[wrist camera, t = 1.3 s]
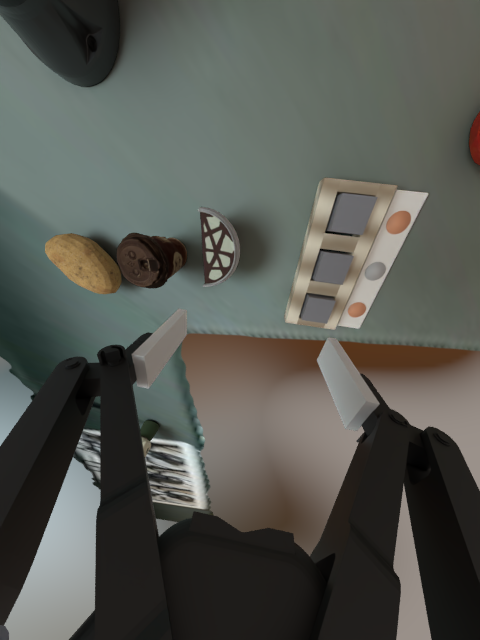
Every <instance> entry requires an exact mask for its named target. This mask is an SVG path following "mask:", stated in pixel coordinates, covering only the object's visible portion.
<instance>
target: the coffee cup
mask: <svg viewBox="0 0 480 640" xmlns="http://www.w3.org/2000/svg"><path fill="white" fill-rule="evenodd" d="M186 260H187V251H186V248H185V246H184V244H182V243H181V242H180V241H179V240H177V239H176V238H168V239H166V238H165V237H159V236H152V237H150V236H147V235H142V234H139V233H130V234H128V235H127V236H126V237H125V238H124V239H123V240H122V242H121V243H120V244H119V246H118V248H117V262H118V264H119V267H120V269H121V272H122V274H123V275H124V277H125V278H126V279H127V280H128V281H130V282H131V283H133V284H135V285H137V286H140V287H146V288H159V287H161V286H163V285H164V284H165V282H167V279H169V278H170V277H171V276H172V275H174V274H175V273H176V272H177V271H178V270H179V269H180V268H181V267H183V266H184V265H185V263H186Z"/></svg>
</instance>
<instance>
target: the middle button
mask: <svg viewBox="0 0 480 640" xmlns="http://www.w3.org/2000/svg"><path fill="white" fill-rule="evenodd" d="M353 257H354V256H353V255H349V254H346V253H338V252H331V251H323V250H319V253H318V256H317V260H316V263H315V266H314V269H313V273H312V276H311V278H312V279H313V280H314V281H318V282H325V283H333V284H340V285H343V282H344V280H345V277H346V275H347V272H348V270H349V267H350V265H351V262H352V260H353Z"/></svg>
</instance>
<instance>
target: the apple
mask: <svg viewBox="0 0 480 640" xmlns="http://www.w3.org/2000/svg"><path fill="white" fill-rule="evenodd" d="M469 147H470V152H471V156H472V158H473V160H474V162H475V163H477V164H478V165H480V112H479V113H478V115H477V117H476V118H475V120H474V122H473V125H472V127H471V130H470V139H469Z"/></svg>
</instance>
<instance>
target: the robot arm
mask: <svg viewBox="0 0 480 640" xmlns="http://www.w3.org/2000/svg"><path fill="white" fill-rule="evenodd" d="M0 15H1V16H2V17H3V18H4V20H5V21H6V22H7V23H8V24H9V25H10V26H11V27H12V29H13V30H14V31H15V32H16V33H17V34H18V35H19V36H20V38H21V39H22V40H23V42H24V43H25V44H26V45H27V47H28V48H29V49H30V50H31V51H32V52H33V54H34V55H35V56H36V57H37V58H38V59H39V60H41V61H42V62H43V63H44V64H45V65H46V66H47V67H49V68H50V69H51V70H53V71H54V72H55V73H57V74H58V75H59V76H61V77H62V78H64V79H65V80H67V81H68V82H70V83H73V84H75V85H79V86H92V85H95V84H97V83H99V82H101V81H102V80H103V79H104V78H105V77H106V76H107V75H108V73H109V72H110V70H111V68H112V66H113V64H114V61H115V58H116V55H117V50H118V44H119V34H120V20H119V8H118V1H117V0H0ZM186 335H187V310H183V309H178V310H177V311H176V312H175V313H174V314H173V315H172V316H171V317H170V318H169V319H168V320H167V321H166V322H164V323H163V324H162V325H161V326H160V327H159V328H158V329H157V330H156V331H155V332H154V333H146V334H143V335H141V336H140V337H139V338H138V339H137V340H136V341H135V342H133V344H131V345H130V346H129V347H128V348H127V349H126V350H125V348H124V347H123V346H121V345H110V346H107V347H105V348H103V349H101V350H100V351H99V352H98V354H97V356H98V359H99V362H100V363H88V362H87V360H86V358H84V357H73V358H69V359H66V360H64V361H62V362H61V363H59V364H58V365H57V366H56V368H55V369H54V371H53V372H52V374H51V375H50V376H49V378H48V379H47V381H46V382H45V384H44V385H43V386H42V388H41V389H40V391H39V392H38V393H37V395H36V396H35V398H34V399H33V401H32V402H31V404H30V405H29V406H28V408H27V409H26V411H25V412H24V413H23V415H22V416H21V418H20V419H19V421H18V422H17V423H16V425H15V426H14V428H13V429H12V431H11V432H10V433H9V435H8V436H7V438H6V439H5V440H4V442H3V443H2V445H1V446H0V640H9V632H8V630H7V629H6V627H5V626H4V624H5V622H6V620H7V618H8V616H9V614H10V612H11V610H12V608H13V606H14V604H15V602H16V600H17V598H18V596H19V594H20V592H21V589H22V587H23V585H24V583H25V580H26V578H27V575H28V573H29V571H30V568H31V566H32V563H33V561H34V558H35V556H36V553H37V550H38V547H39V545H40V542H41V540H42V537H43V534H44V531H45V529H46V526H47V523H48V521H49V518H50V516H51V513H52V510H53V508H54V505H55V502H56V500H57V497H58V494H59V492H60V489H61V487H62V484H63V481H64V479H65V476H66V473H67V470H68V468H69V465H70V463H71V460H72V458H73V455H74V452H75V450H76V447H77V444H78V442H79V439H80V437H81V434H82V431H83V429H84V426H85V423H86V421H87V418H88V415H89V413H90V410H91V407H92V405H93V402H94V400H95V397H96V396H101V501H100V506H99V508H98V511H97V519H96V577H95V578H96V579H95V582H96V583H95V585H96V586H95V610H94V612H93V613H92V614H91V615H90V616H89V617H88V618H87V620H86V621H85V622H84V623H83V624H82V625H81V626H80V628H79V629H78V630H77V631H76V632H75V633H74V634H73V635H72V637H71V638H70V639H69V640H396V636H397V625H398V615H399V604H400V594H401V584H400V580H399V577H398V576H397V575H396V573H395V572H394V569H393V561H394V553H395V545H396V537H397V529H398V523H399V515H400V507H401V499H402V492H403V484H404V486H405V492H406V498H407V503H408V509H409V515H410V520H411V526H412V532H413V537H414V543H415V549H416V554H417V560H418V565H419V571H420V576H421V582H422V588H423V593H424V599H425V605H426V611H427V616H428V622H429V627H430V633H431V638H432V640H480V491H479V489H478V487H477V485H476V482H475V480H474V478H473V476H472V474H471V472H470V470H469V468H468V466H467V464H466V462H465V460H464V457H463V455H462V453H461V451H460V449H459V447H458V446H457V444H456V443H455V442H454V441H453V440H452V439H451V438H450V437H449V436H448V435H447V434H445V433H444V432H442V431H440V430H439V429H437V428H434V427H428V428H426V429H425V430H424V431H423V430H421V429H418V428H416V427H413V426H411V425H410V424H409V422H408V421H407V420H406V419H405V418H404V417H403V416H402V415H401V414H399V413H398V412H396V411H394V410H391V409H390V408H389V407H388V405H387V404H386V403H385V401H384V400H383V398H382V397H381V396H380V394H379V393H378V392H377V390H376V389H375V387H374V386H373V384H372V383H371V381H370V380H369V379H368V378H367V377H366V376H365V375H363V374H360V373H359V372H358V370H357V369H356V367H355V366H354V364H353V363H352V361H351V360H350V359H349V357H348V355H347V354H346V352H345V351H344V349H343V348H342V346H341V345H340V343H339V342H338V340H337V339H335V338H329V337H328V338H327V340H326V342H325V345H324V347H323V349H322V351H321V353H320V355H319V357H318V359H317V361H318V364H319V366H320V369H321V371H322V373H323V376H324V378H325V381H326V383H327V386H328V388H329V391H330V393H331V395H332V398H333V400H334V403H335V405H336V408H337V410H338V412H339V415H340V417H341V420H342V422H343V425H344V427H345V429H349V430H355V431H357V430H358V429H359V428H360V427H361V426H362V427H363V429H364V431H365V432H364V433H363V434H362V435H361V436H360V438H359V439H358V440H357V442H359V444H358V446H357V449H356V451H355V454H354V456H353V459H352V461H351V464H350V466H349V469H348V471H347V474H346V476H345V479H344V481H343V484H342V486H341V489H340V491H339V494H338V496H337V499H336V501H335V504H334V506H333V509H332V511H331V514H330V516H329V519H328V521H327V524H326V526H325V529H324V531H323V534H322V536H321V539H320V541H319V542H318V544H317V546H316V547H315V549H314V550H313V552H312V554H311V556H309V555H308V554H307V553H306V552H305V551H304V550H303V549H302V548H301V547H300V546H299V545H297V544H296V543H295V542H294V536H293V533H289V532H285V531H280V530H275V529H271V528H266V529H260V530H255V531H250V532H240V531H239V530H237V529H236V528H234V527H232V526H231V525H230V524H228V523H227V522H225V521H224V520H222V519H221V518H219V517H217V516H213V515H208V514H203V513H199V512H193V516H192V518H189V519H185V520H182V521H180V522H178V523H176V524H174V525H173V526H171V527H170V528H169V529H167V530H166V531H165V532H164V533H163V534H162V535H161V536H159V535H158V529H157V524H156V518H155V512H154V507H153V502H152V496H151V490H150V484H149V479H148V473H147V467H146V461H145V455H144V449H143V444H142V438H141V432H140V426H139V420H138V415H137V409H136V403H135V397H134V391H133V386H132V385H133V384H134V383H135V381H137V386H139V387H144V388H149V387H150V386H151V384H152V383H153V382H154V380H155V379H156V377H157V376H158V375H159V373H160V372H161V370H162V369H163V367H164V366H165V365H166V363H167V362H168V360H169V359H170V358H171V356H172V355H173V353H174V352H175V351H176V349H177V348H178V346H179V345H180V343H181V342H182V341H183V339H184V338H185V336H186Z"/></svg>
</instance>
